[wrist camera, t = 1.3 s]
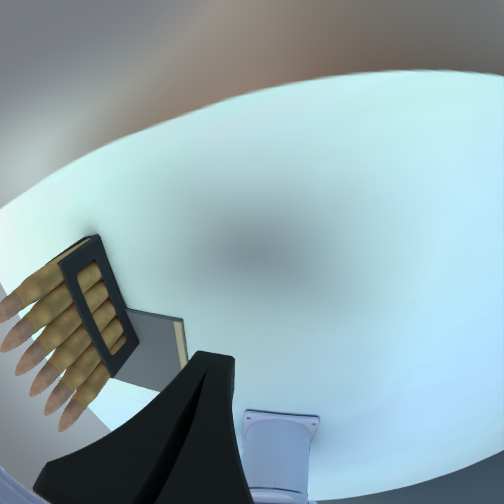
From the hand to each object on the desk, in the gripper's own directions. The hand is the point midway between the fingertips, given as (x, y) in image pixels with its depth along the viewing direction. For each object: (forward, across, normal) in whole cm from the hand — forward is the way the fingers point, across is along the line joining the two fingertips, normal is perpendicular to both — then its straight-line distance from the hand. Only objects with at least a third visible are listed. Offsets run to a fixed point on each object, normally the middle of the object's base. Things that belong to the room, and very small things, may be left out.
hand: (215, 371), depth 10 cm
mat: (+10, +12, +12) cm, 20 cm away
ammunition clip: (+10, +12, +5) cm, 17 cm away
